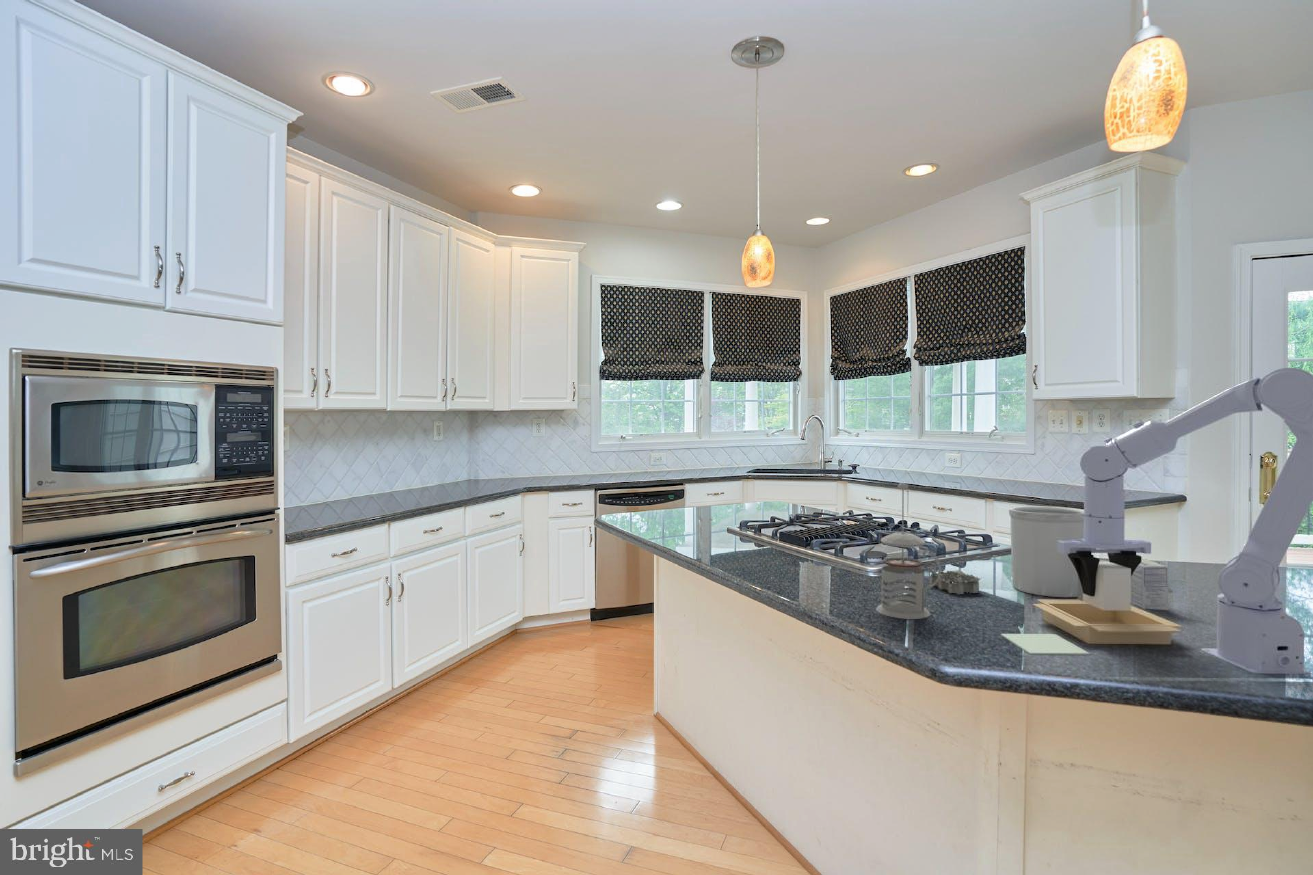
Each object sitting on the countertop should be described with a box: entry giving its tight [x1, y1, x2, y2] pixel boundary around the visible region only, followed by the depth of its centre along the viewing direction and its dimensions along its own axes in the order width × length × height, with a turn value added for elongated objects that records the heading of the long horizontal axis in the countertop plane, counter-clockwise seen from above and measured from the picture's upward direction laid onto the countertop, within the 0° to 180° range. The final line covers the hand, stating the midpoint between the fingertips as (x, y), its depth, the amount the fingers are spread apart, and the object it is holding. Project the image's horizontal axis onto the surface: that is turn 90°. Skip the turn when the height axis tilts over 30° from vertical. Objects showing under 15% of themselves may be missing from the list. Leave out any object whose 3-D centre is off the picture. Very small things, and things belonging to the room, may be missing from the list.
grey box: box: [1077, 559, 1132, 610], centre depth 110 cm, size 7×4×7 cm, turn 178°
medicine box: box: [1131, 558, 1169, 611], centre depth 126 cm, size 8×4×9 cm, turn 168°
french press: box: [875, 482, 942, 620], centre depth 123 cm, size 10×12×25 cm
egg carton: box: [926, 566, 982, 595], centre depth 140 cm, size 11×8×4 cm
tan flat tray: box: [1032, 598, 1184, 645], centre depth 110 cm, size 18×17×3 cm
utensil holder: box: [1008, 505, 1084, 598], centre depth 138 cm, size 15×15×18 cm
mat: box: [1000, 633, 1090, 656], centre depth 103 cm, size 9×9×1 cm
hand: (1103, 594), depth 110 cm, fingers closed on grey box, 4 cm apart
